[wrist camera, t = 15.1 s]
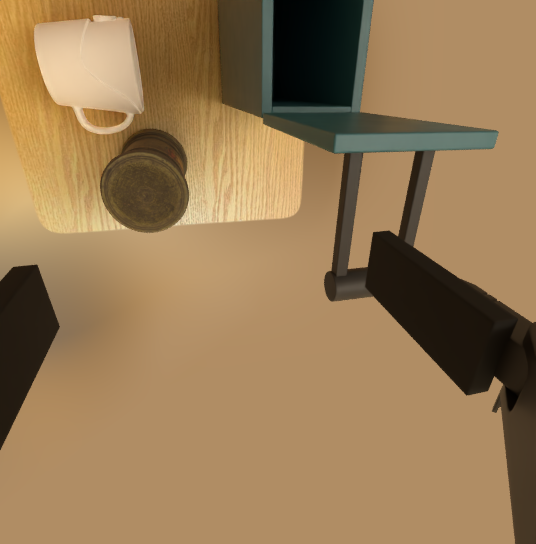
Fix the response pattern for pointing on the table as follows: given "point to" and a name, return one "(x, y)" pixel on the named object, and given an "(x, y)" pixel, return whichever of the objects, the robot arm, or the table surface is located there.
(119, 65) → the mug
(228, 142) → the table surface
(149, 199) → the container
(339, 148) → the lid
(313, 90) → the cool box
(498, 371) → the robot arm
